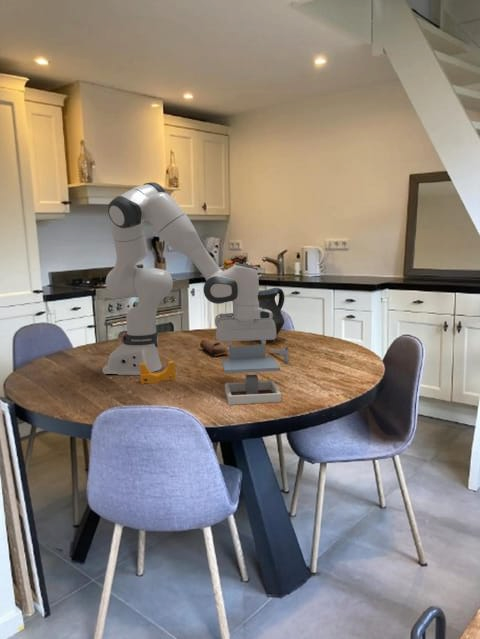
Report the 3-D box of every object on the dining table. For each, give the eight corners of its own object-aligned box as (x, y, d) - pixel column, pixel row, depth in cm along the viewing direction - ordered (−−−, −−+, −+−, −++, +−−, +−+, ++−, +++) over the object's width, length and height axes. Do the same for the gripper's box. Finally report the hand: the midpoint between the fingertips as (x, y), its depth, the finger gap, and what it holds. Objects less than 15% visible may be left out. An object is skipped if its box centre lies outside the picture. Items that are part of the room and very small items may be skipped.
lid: (225, 373, 158) (224, 357, 157) (221, 361, 172) (221, 346, 171) (280, 370, 159) (280, 355, 159) (271, 359, 174) (271, 344, 173)
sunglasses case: (231, 350, 219) (221, 339, 216) (219, 362, 218) (209, 351, 215) (217, 342, 235) (207, 332, 233) (206, 353, 234) (197, 343, 232)
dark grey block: (247, 399, 161) (246, 378, 159) (245, 396, 164) (245, 375, 163) (258, 399, 161) (258, 377, 160) (256, 395, 164) (256, 374, 163)
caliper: (289, 363, 202) (289, 347, 201) (286, 363, 202) (286, 348, 201) (271, 351, 221) (271, 337, 220) (268, 351, 221) (268, 337, 220)
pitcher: (234, 339, 251) (233, 288, 247) (272, 334, 262) (271, 285, 257) (255, 346, 234) (254, 292, 229) (295, 341, 244) (295, 289, 239)
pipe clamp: (141, 384, 179) (140, 366, 178) (140, 381, 183) (139, 363, 182) (175, 381, 182) (175, 363, 181) (174, 378, 186) (173, 360, 185)
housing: (228, 406, 155) (228, 396, 154) (225, 392, 168) (224, 383, 168) (281, 403, 156) (281, 393, 156) (273, 389, 170) (273, 380, 170)
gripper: (215, 315, 167) (216, 356, 170) (277, 313, 169) (277, 354, 172) (214, 312, 173) (215, 352, 176) (274, 310, 176) (274, 350, 178)
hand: (246, 353), depth 174 cm, fingers open, 8 cm apart
